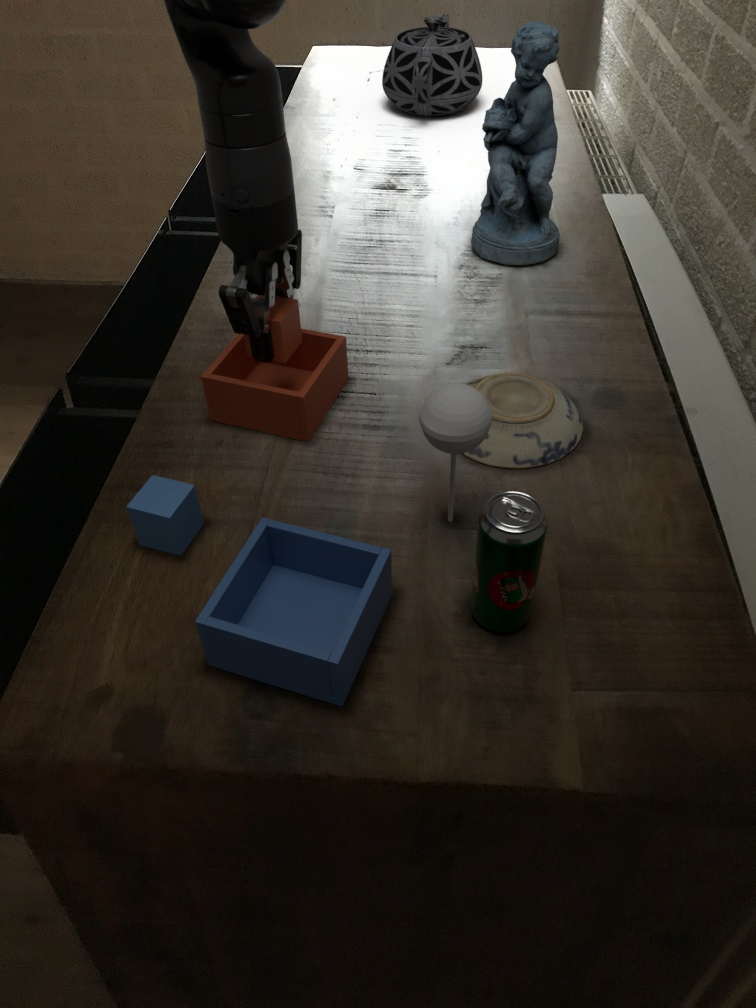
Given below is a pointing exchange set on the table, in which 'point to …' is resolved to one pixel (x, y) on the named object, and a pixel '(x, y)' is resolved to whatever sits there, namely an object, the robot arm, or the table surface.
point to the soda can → (507, 560)
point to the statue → (521, 158)
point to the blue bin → (297, 610)
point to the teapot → (432, 69)
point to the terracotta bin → (277, 386)
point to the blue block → (166, 515)
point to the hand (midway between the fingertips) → (274, 346)
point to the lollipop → (455, 423)
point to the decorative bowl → (526, 422)
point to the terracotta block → (282, 328)
